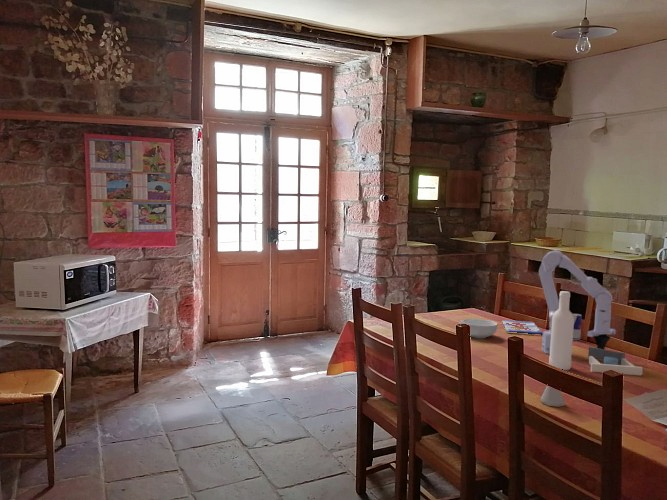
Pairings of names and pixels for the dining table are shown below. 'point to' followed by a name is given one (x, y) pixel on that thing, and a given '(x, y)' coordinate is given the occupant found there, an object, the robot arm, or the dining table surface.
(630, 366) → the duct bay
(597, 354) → the duct cover
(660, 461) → the dining table surface
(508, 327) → the blue white book
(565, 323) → the bottle
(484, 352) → the dining table surface
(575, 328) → the energy drink
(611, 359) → the light blue block
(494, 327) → the cereal bowl
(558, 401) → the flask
